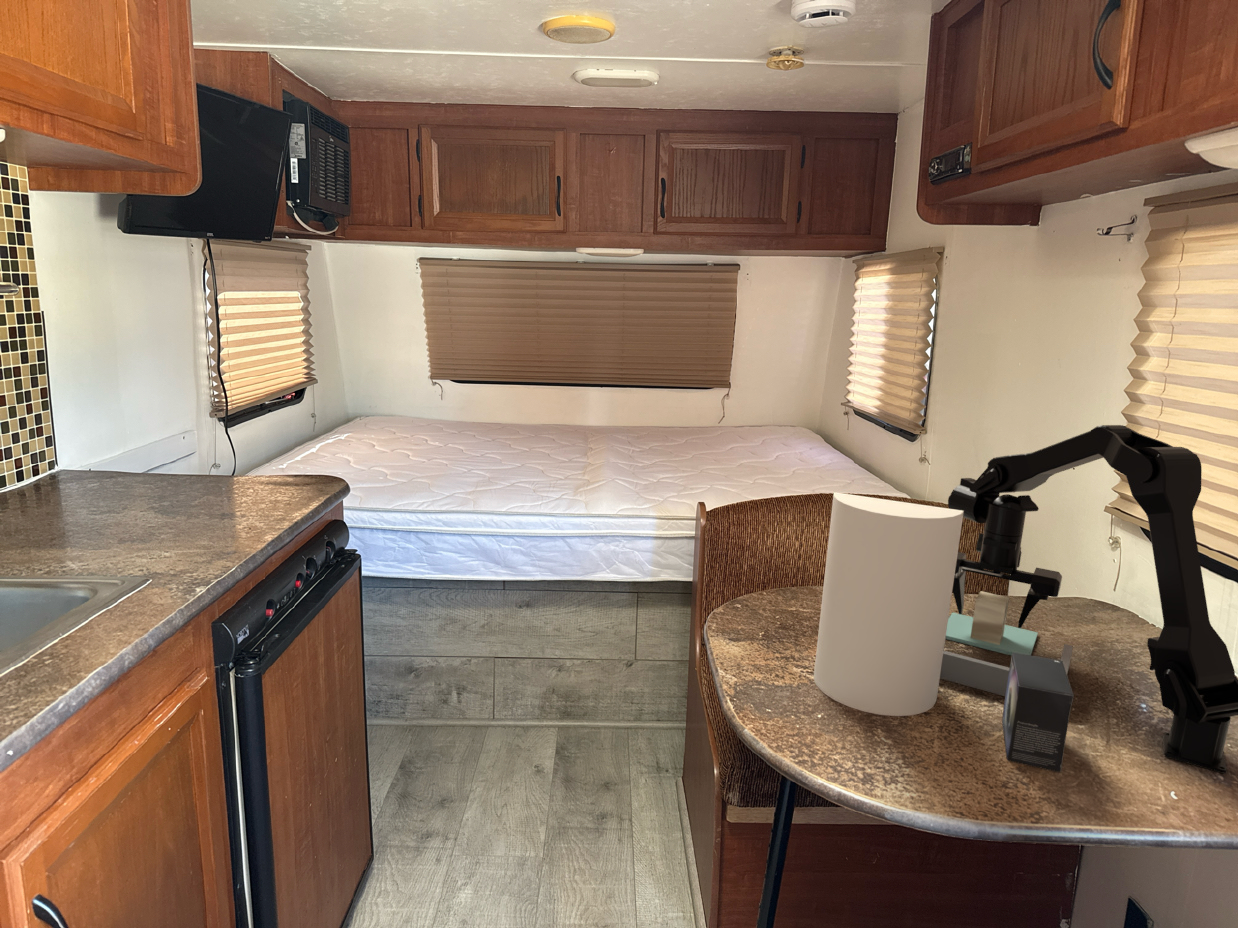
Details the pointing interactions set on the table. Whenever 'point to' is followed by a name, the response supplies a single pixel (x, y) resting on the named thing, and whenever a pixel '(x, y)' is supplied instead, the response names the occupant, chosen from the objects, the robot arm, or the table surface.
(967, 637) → the teal mat
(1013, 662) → the small box
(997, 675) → the grey l-shaped bracket
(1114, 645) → the table surface
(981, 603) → the cream block
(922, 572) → the cylinder
